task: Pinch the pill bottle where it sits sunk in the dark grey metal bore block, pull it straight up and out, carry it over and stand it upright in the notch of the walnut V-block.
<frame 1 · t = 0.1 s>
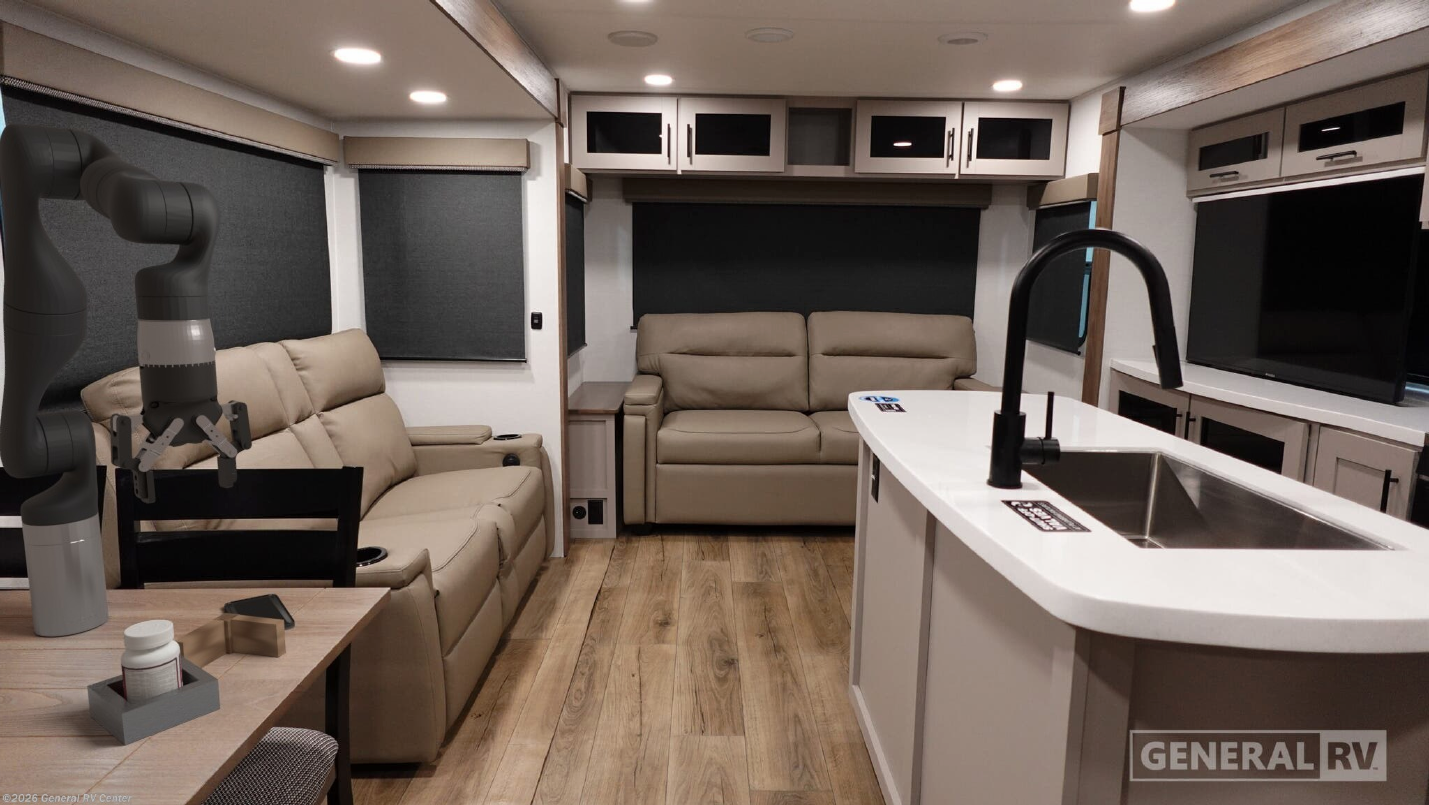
hand: (188, 494, 101), 29 cm above the table, fingers open, 8 cm apart
bore block: (156, 712, 107), on the table
phone: (258, 620, 135), on the table
pill bottle: (156, 714, 107), on the table
v block: (232, 663, 120), on the table
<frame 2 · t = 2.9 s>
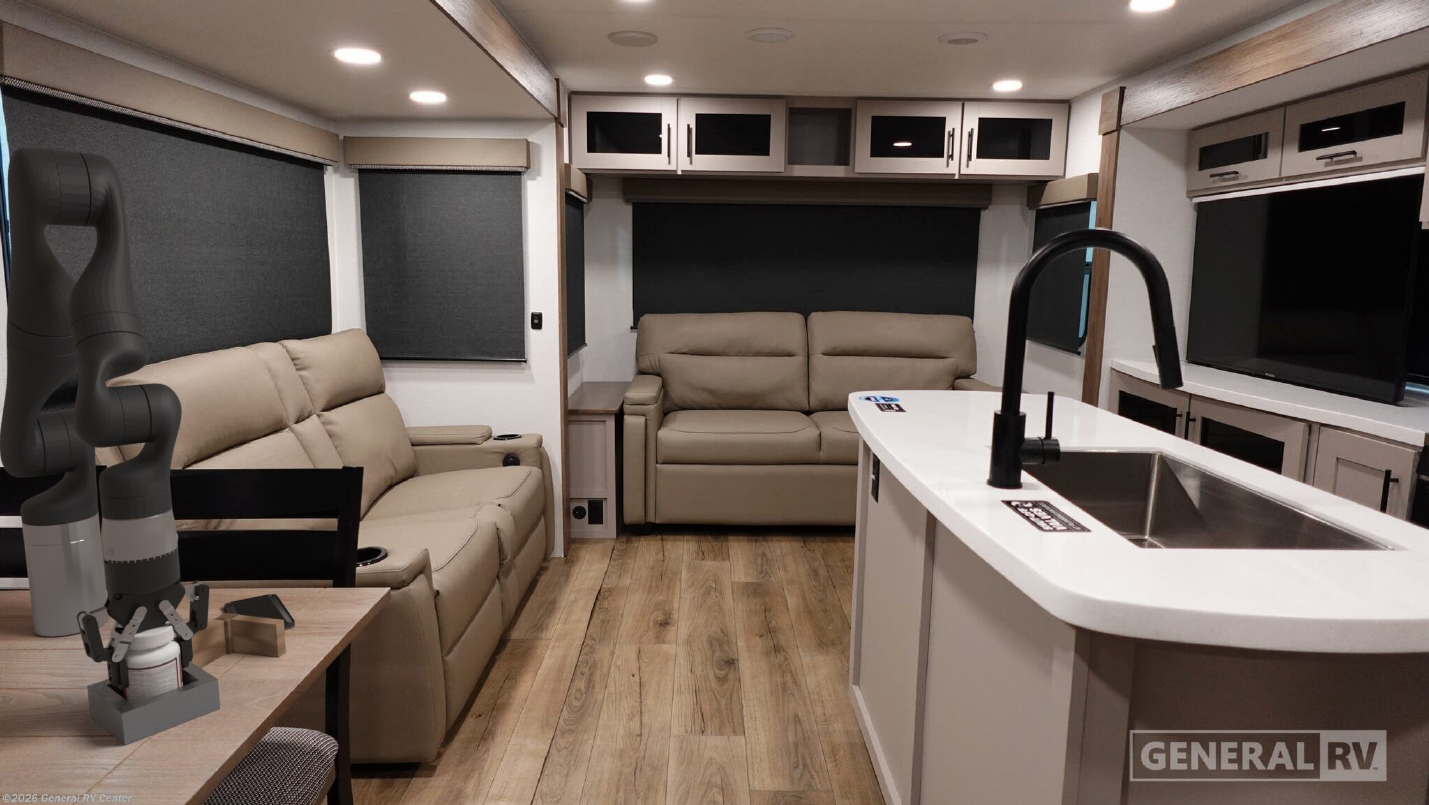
hand: (152, 676, 106), 5 cm above the table, fingers closed on pill bottle, 6 cm apart
pill bottle: (156, 713, 107), on the table, touching gripper
everything else where it was.
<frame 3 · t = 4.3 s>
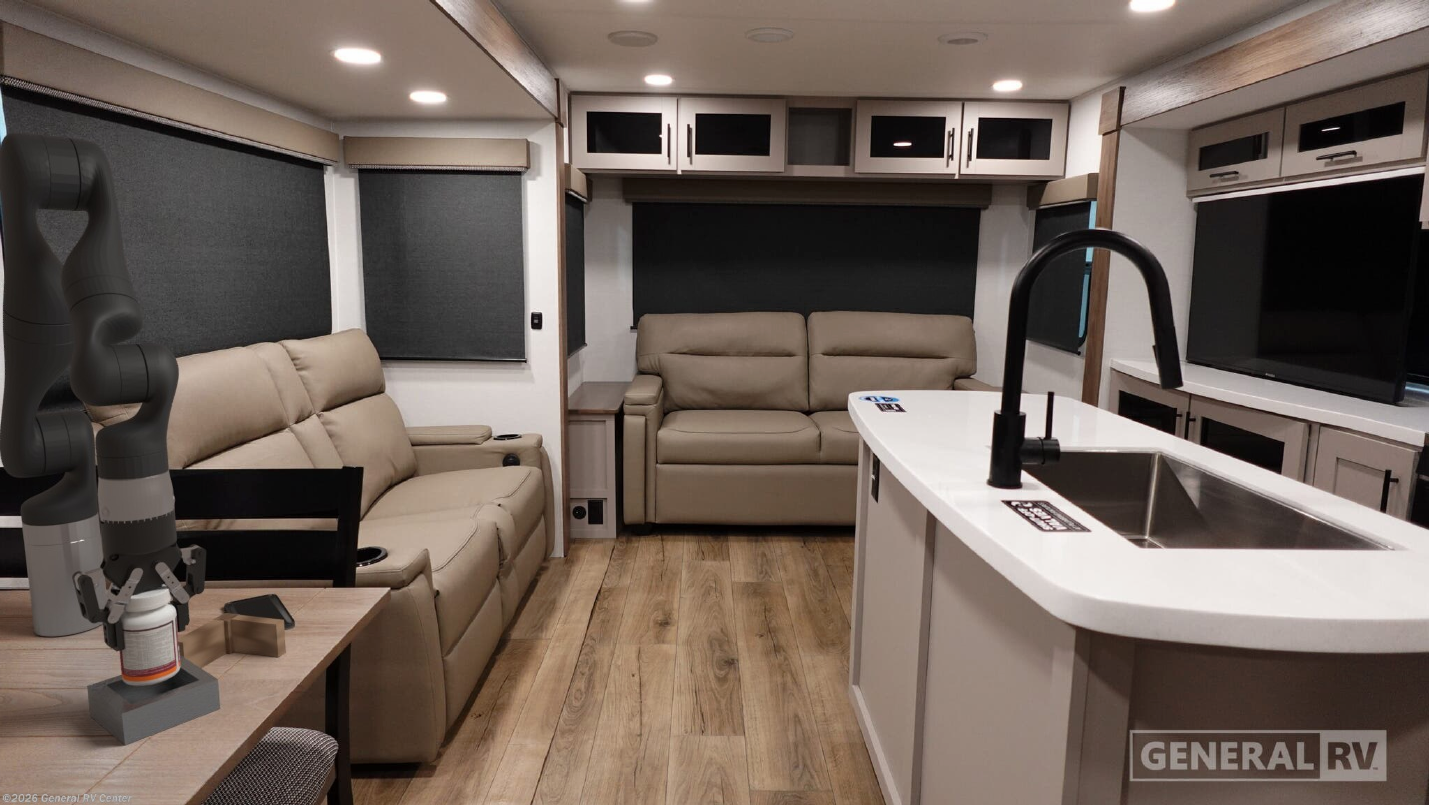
hand: (148, 638, 105), 10 cm above the table, fingers closed on pill bottle, 6 cm apart
pill bottle: (152, 677, 106), point 5 cm above the table, touching gripper
everything else where it was.
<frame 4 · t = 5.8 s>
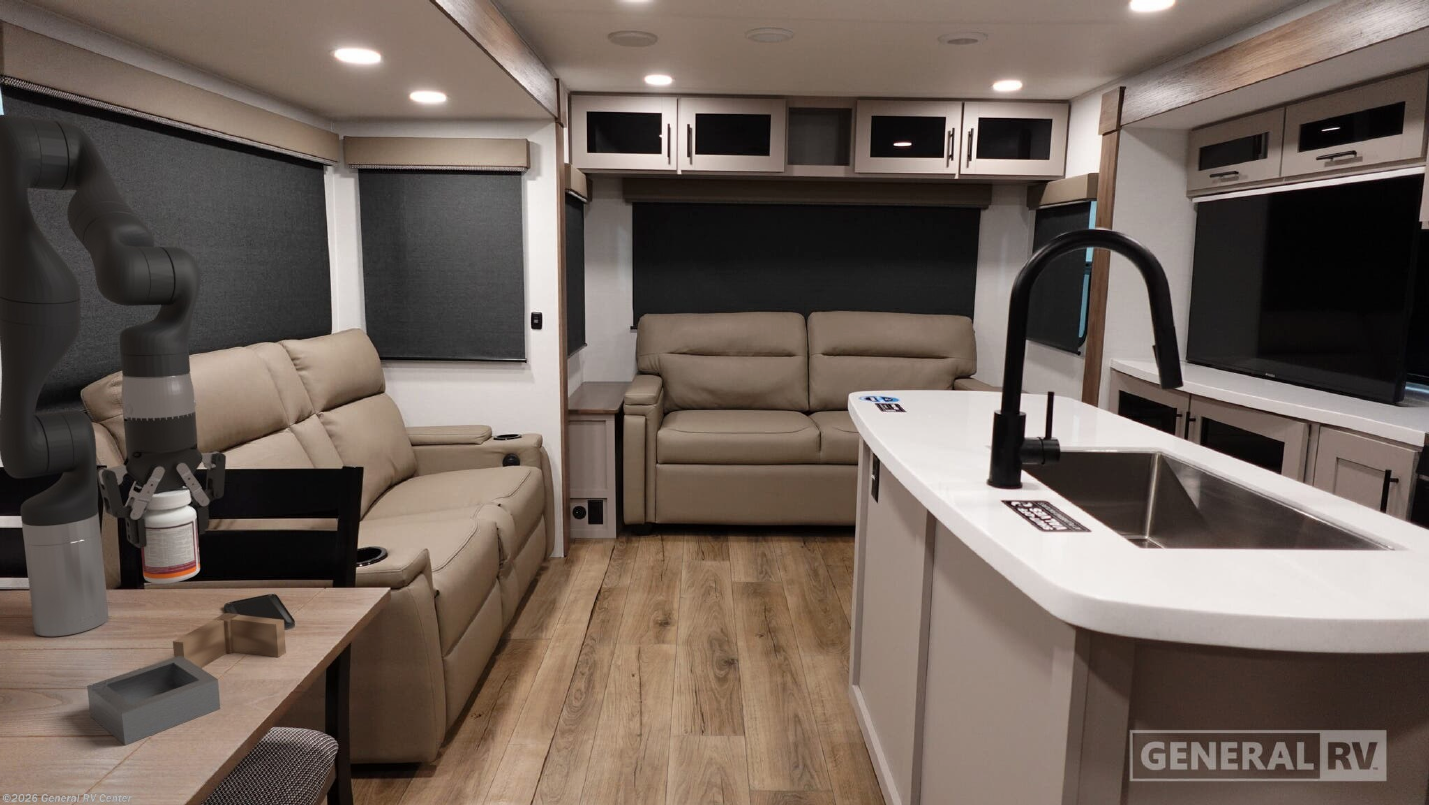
hand: (169, 539, 108), 21 cm above the table, fingers closed on pill bottle, 6 cm apart
pill bottle: (172, 577, 109), point 16 cm above the table, touching gripper
everything else where it was.
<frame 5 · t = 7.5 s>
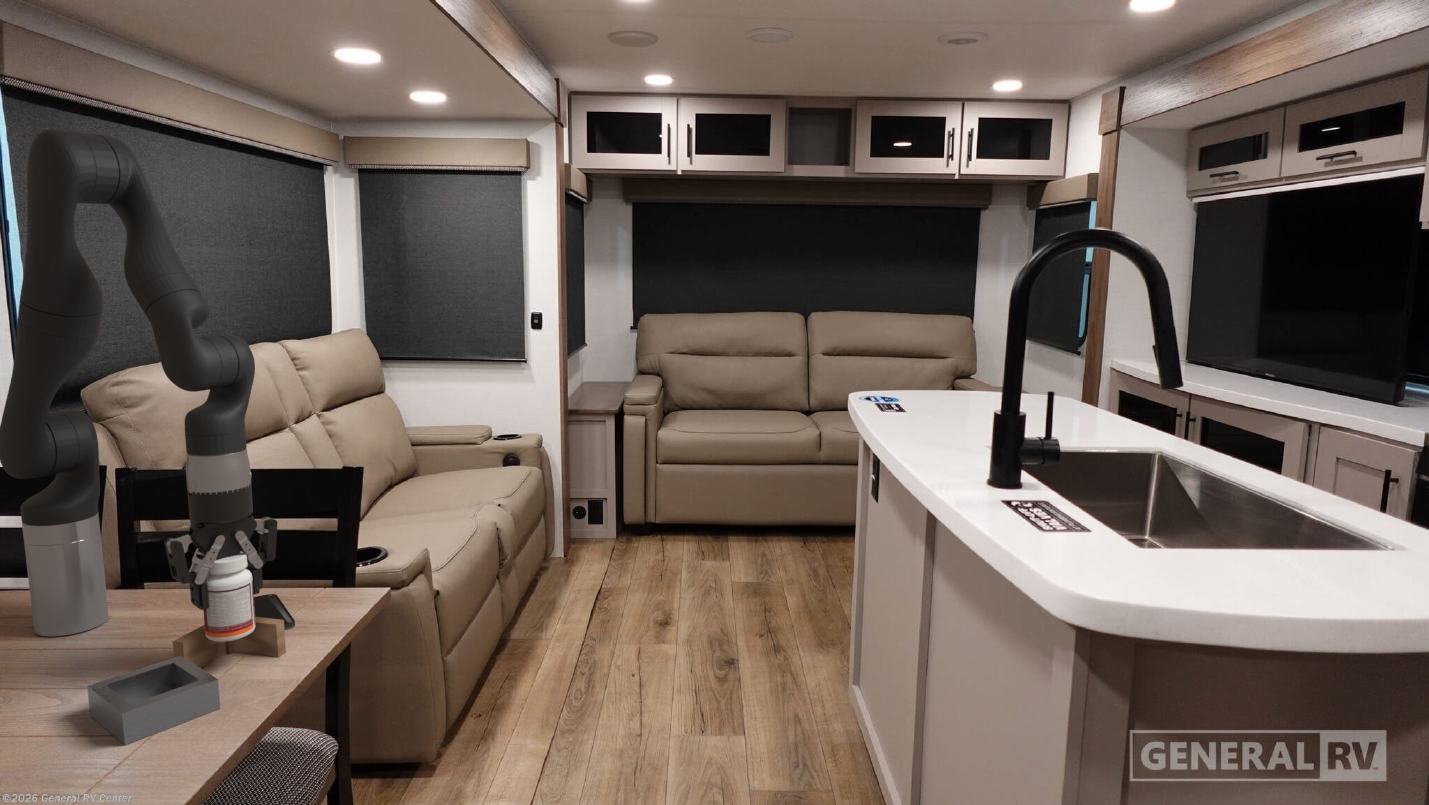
hand: (228, 600, 118), 10 cm above the table, fingers closed on pill bottle, 6 cm apart
pill bottle: (231, 634, 118), point 5 cm above the table, touching gripper
everything else where it was.
when the fingers open (6 cm above the table, at t = 8.8 s): pill bottle drops 1 cm, on the table.
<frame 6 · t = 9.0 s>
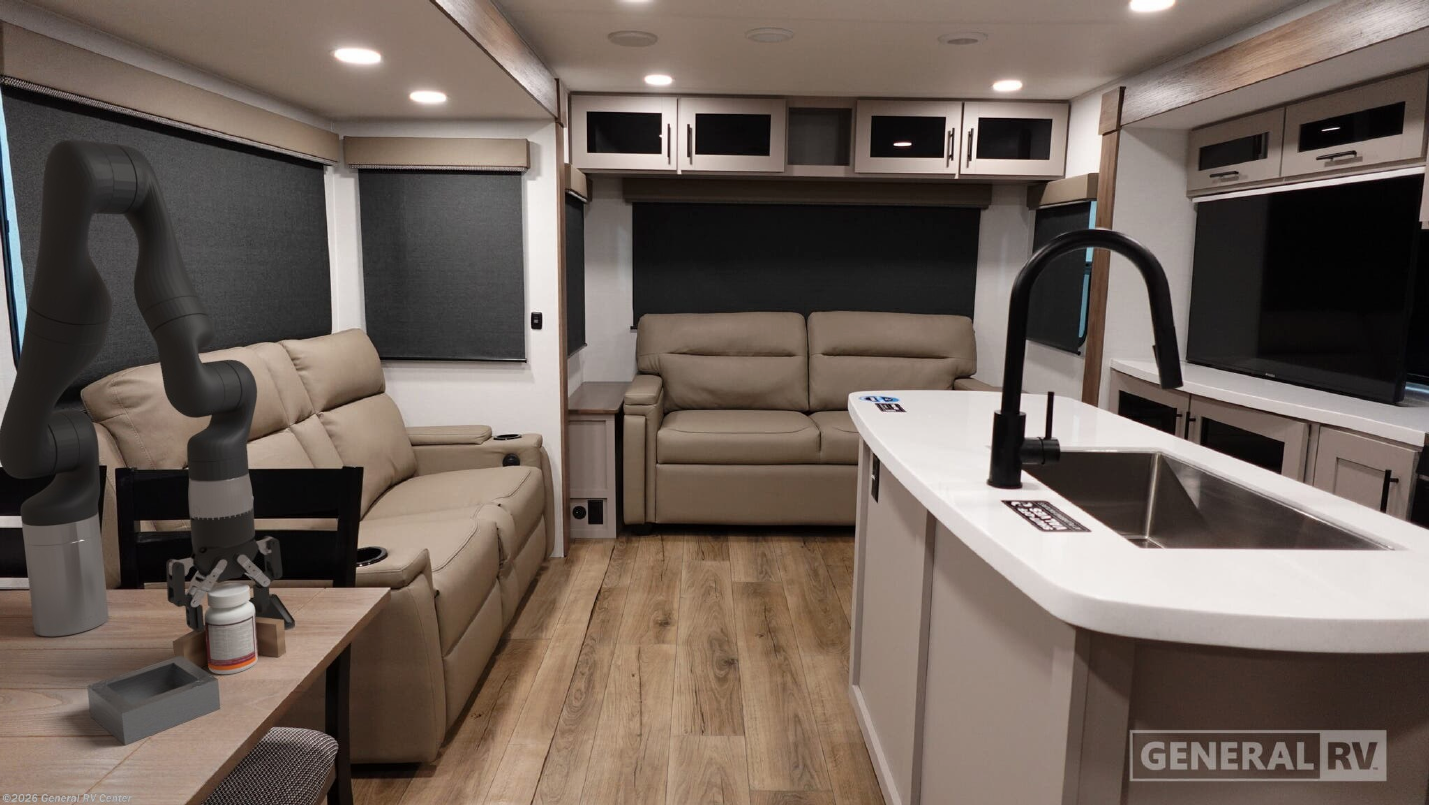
hand: (230, 620, 118), 7 cm above the table, fingers open, 8 cm apart
pill bottle: (233, 666, 119), on the table
everything else where it was.
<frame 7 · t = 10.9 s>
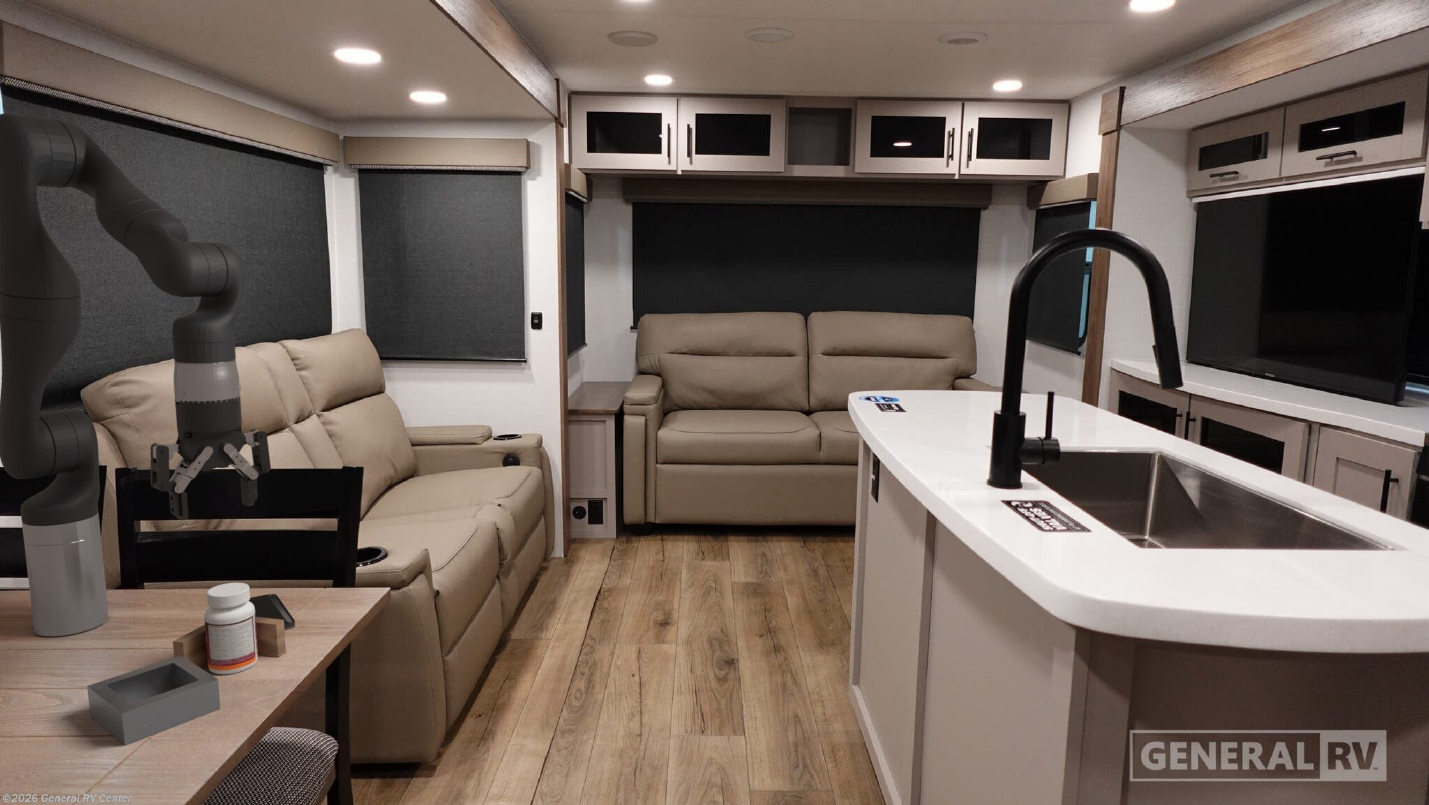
hand: (215, 511, 116), 22 cm above the table, fingers open, 8 cm apart
nothing on the table moved.
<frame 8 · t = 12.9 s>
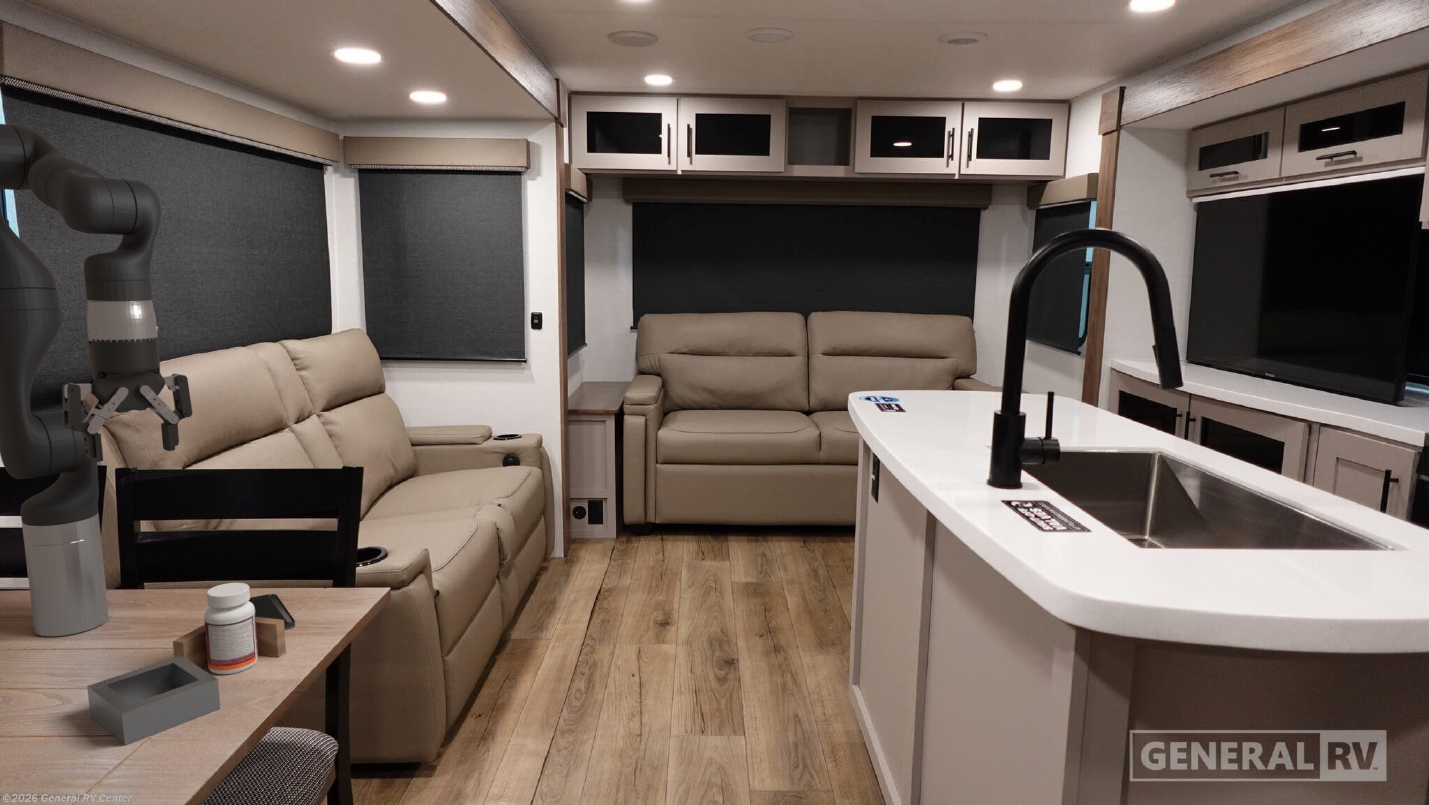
hand: (134, 455, 114), 30 cm above the table, fingers open, 8 cm apart
nothing on the table moved.
at the end: pill bottle 0.6 cm from the v block (horizontally); pill bottle tilted 0°; the gripper is holding nothing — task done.
